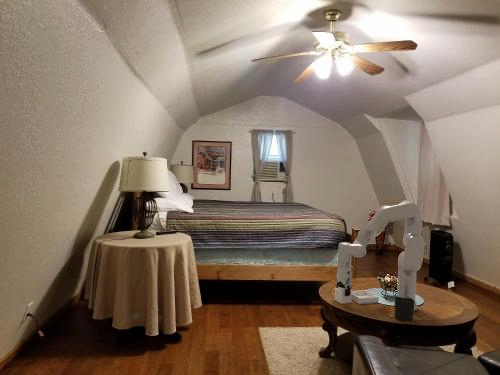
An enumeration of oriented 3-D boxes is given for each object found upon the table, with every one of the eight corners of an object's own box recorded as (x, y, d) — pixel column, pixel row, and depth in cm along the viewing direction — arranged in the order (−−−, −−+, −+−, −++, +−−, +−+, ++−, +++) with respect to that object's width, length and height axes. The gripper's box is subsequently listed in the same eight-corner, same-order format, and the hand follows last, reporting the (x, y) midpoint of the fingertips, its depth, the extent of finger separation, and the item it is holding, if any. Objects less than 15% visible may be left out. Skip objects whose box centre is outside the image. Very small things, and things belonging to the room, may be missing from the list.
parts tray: (378, 302, 222) (378, 297, 222) (358, 304, 219) (359, 298, 219) (366, 295, 234) (366, 290, 234) (347, 297, 231) (347, 291, 231)
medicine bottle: (351, 302, 221) (352, 282, 220) (341, 304, 218) (342, 283, 218) (344, 298, 228) (345, 278, 227) (334, 300, 225) (334, 279, 224)
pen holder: (406, 323, 194) (407, 303, 193) (390, 317, 201) (391, 298, 201) (417, 319, 199) (418, 300, 199) (400, 313, 207) (401, 295, 206)
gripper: (358, 267, 214) (356, 297, 215) (342, 260, 231) (341, 288, 232) (346, 268, 212) (344, 298, 213) (331, 260, 229) (330, 288, 230)
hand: (343, 293), depth 223 cm, fingers open, 9 cm apart
